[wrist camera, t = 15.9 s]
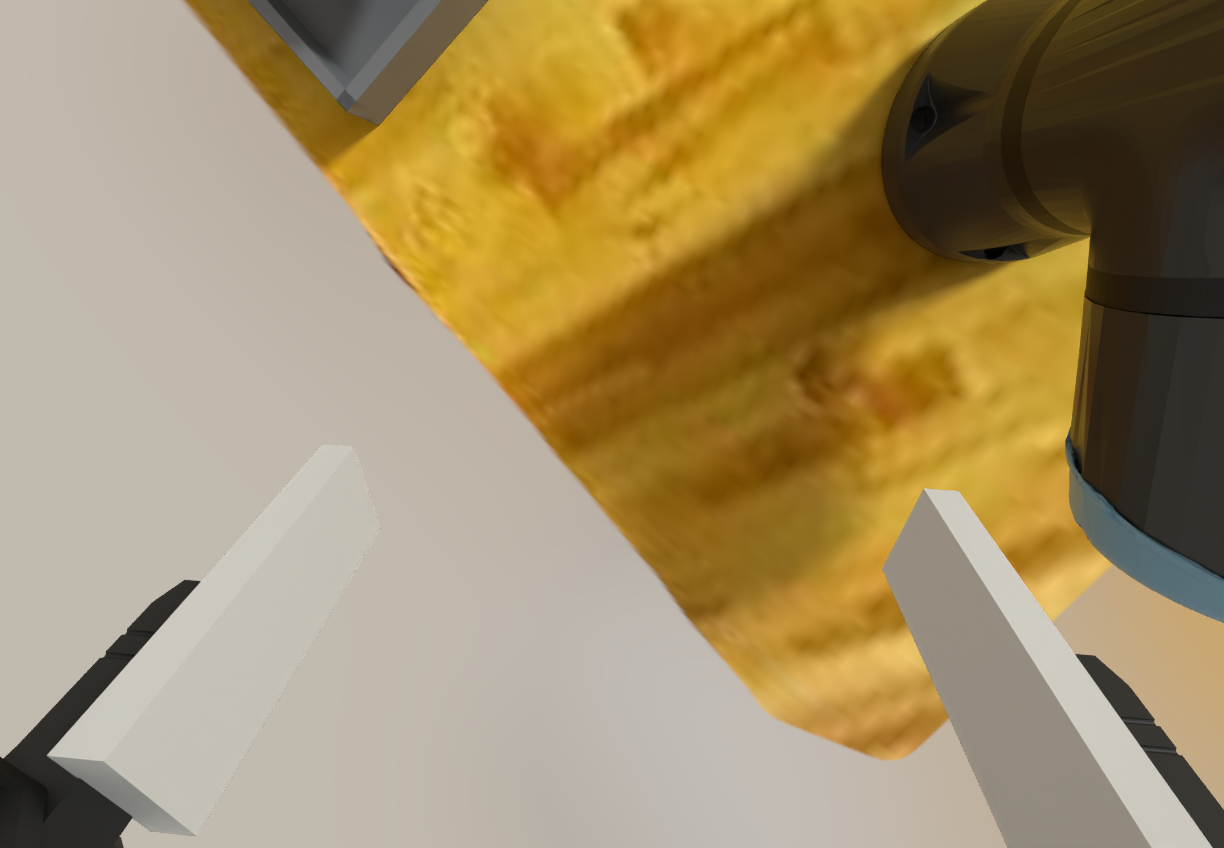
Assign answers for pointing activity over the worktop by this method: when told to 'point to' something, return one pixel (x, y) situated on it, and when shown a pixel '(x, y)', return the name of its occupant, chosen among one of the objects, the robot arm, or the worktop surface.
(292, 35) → the tray
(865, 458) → the worktop surface
